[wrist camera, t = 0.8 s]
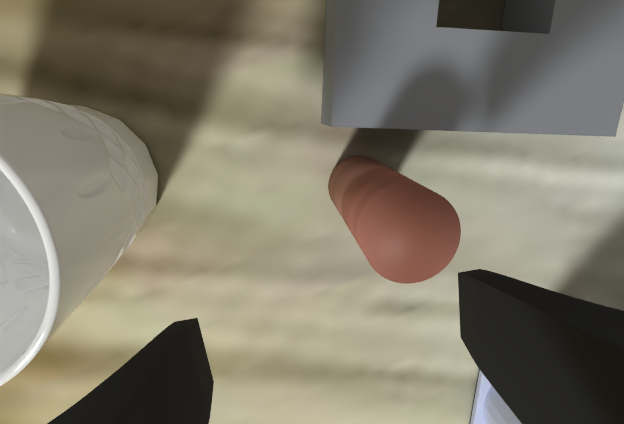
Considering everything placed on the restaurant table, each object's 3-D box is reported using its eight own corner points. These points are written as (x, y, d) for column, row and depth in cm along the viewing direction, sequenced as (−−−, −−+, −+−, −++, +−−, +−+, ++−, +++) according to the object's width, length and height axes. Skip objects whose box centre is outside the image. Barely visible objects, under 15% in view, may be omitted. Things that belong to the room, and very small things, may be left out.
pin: (389, 156, 19) (467, 189, 11) (384, 214, 20) (453, 283, 12) (330, 154, 19) (367, 187, 11) (326, 213, 19) (359, 283, 12)
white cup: (-9, 77, 16) (-407, 35, 7) (178, 108, 18) (59, 109, 8) (-2, 247, 18) (-306, 400, 9) (166, 267, 19) (58, 422, 10)
